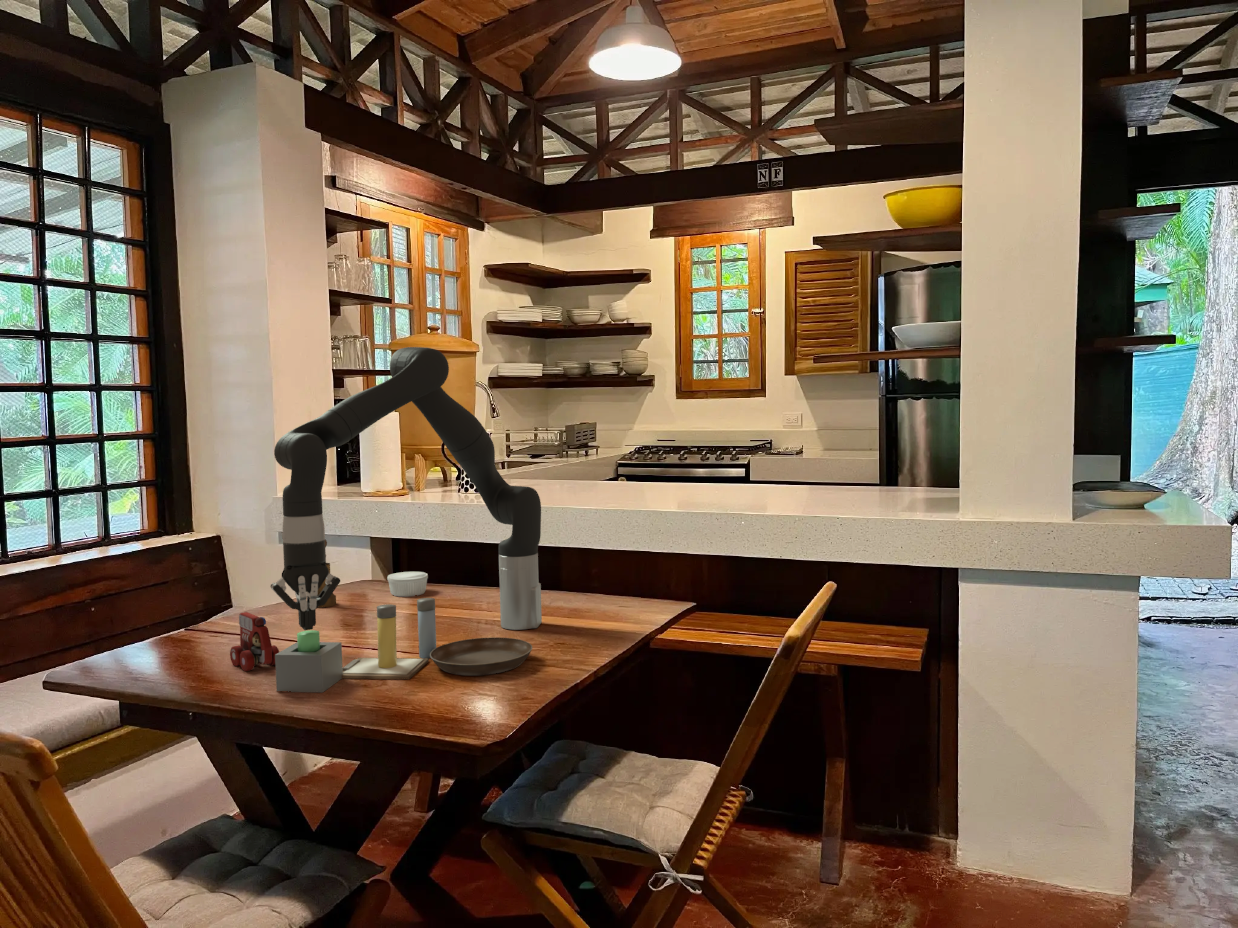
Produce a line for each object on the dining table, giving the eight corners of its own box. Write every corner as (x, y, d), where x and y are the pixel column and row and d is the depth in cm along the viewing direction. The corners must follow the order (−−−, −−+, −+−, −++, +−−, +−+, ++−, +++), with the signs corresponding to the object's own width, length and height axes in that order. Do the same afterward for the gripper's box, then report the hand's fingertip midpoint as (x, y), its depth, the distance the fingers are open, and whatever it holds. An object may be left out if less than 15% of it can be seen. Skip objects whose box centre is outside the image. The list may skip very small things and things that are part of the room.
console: (342, 677, 177) (341, 642, 176) (322, 692, 168) (321, 655, 167) (299, 676, 178) (297, 641, 177) (276, 691, 169) (274, 654, 169)
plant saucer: (413, 663, 186) (412, 647, 186) (500, 645, 199) (500, 630, 199) (460, 687, 170) (459, 670, 170) (552, 666, 183) (551, 650, 182)
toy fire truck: (251, 675, 180) (248, 623, 179) (227, 662, 189) (224, 613, 188) (285, 667, 185) (282, 617, 184) (260, 655, 194) (257, 608, 193)
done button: (323, 650, 174) (322, 630, 174) (314, 656, 170) (313, 635, 170) (303, 650, 175) (303, 630, 174) (294, 656, 171) (293, 635, 170)
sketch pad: (428, 661, 187) (428, 656, 187) (408, 679, 175) (408, 673, 175) (358, 660, 188) (358, 655, 188) (334, 678, 177) (334, 672, 177)
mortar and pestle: (341, 604, 242) (338, 537, 240) (318, 608, 237) (315, 540, 236) (328, 601, 246) (325, 535, 245) (306, 605, 241) (303, 538, 240)
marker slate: (439, 653, 193) (437, 597, 192) (433, 658, 189) (431, 601, 188) (422, 653, 193) (420, 597, 192) (416, 658, 189) (414, 601, 188)
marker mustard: (399, 663, 183) (398, 604, 182) (392, 668, 179) (391, 608, 179) (382, 662, 184) (381, 604, 183) (374, 667, 180) (373, 608, 179)
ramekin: (418, 598, 248) (417, 579, 247) (380, 597, 250) (380, 578, 250) (434, 589, 259) (434, 571, 258) (398, 589, 261) (397, 570, 261)
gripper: (272, 544, 164) (276, 638, 165) (345, 537, 171) (348, 627, 173) (262, 539, 170) (266, 630, 172) (333, 533, 178) (336, 620, 179)
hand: (307, 628), depth 172 cm, fingers closed
